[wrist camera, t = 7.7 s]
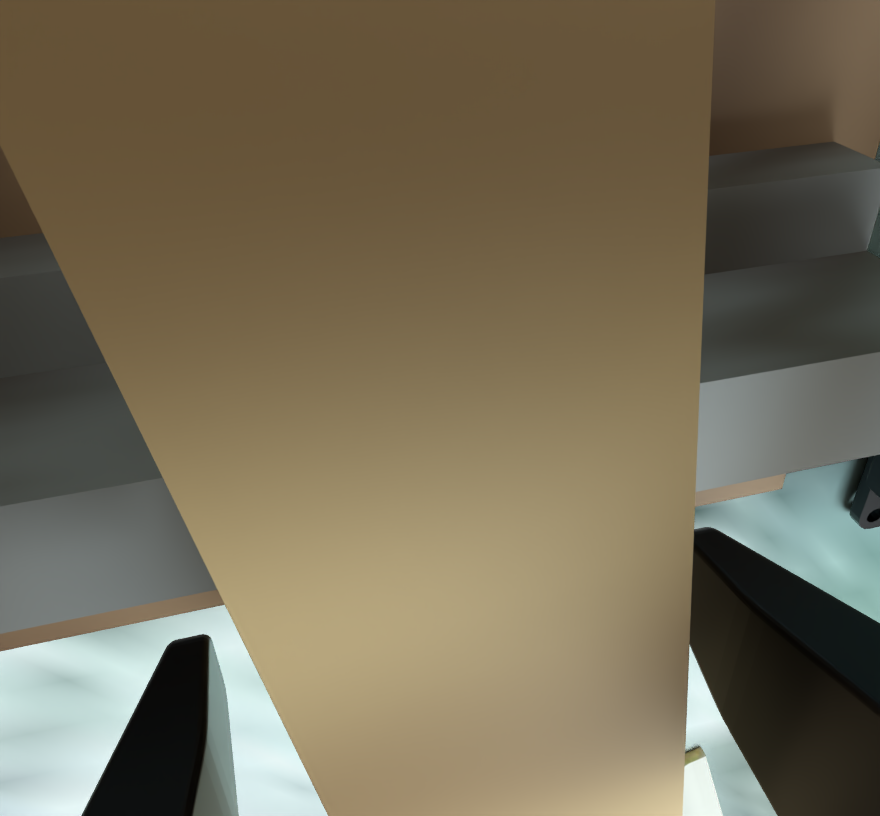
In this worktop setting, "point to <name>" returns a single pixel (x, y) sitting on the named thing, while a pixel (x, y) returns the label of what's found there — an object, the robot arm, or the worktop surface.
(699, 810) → the baseboard molding
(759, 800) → the worktop surface
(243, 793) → the worktop surface
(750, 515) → the worktop surface
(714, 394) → the ridge stand
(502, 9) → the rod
